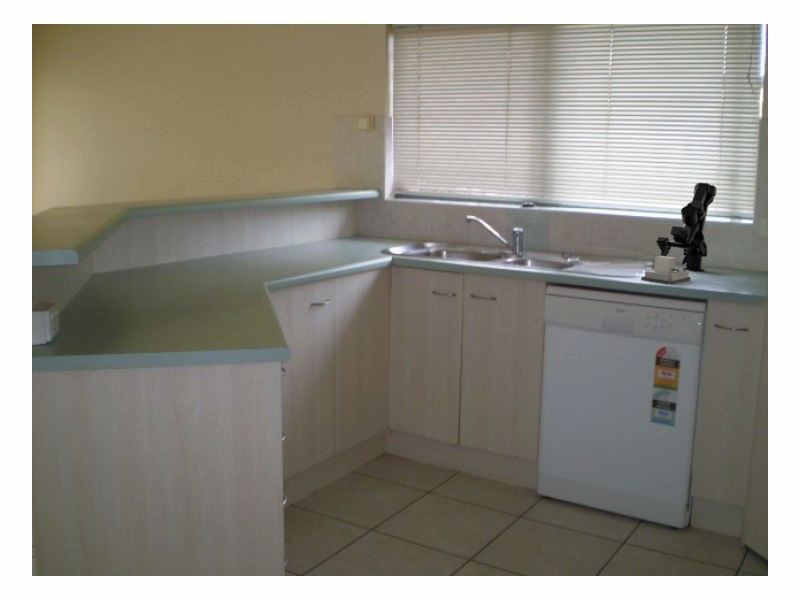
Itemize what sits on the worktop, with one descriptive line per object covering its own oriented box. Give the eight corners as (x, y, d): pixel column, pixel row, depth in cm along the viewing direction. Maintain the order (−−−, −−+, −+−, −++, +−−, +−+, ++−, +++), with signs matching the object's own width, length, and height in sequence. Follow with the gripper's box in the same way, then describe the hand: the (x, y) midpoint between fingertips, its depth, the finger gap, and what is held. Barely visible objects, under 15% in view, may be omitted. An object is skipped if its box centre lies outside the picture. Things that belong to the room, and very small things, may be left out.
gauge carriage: (660, 274, 351) (661, 255, 350) (681, 277, 345) (682, 258, 344) (653, 276, 348) (655, 257, 346) (674, 279, 342) (676, 259, 340)
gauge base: (660, 275, 358) (660, 265, 358) (690, 280, 350) (691, 269, 349) (641, 279, 348) (641, 269, 348) (671, 284, 339) (672, 273, 339)
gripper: (660, 216, 357) (644, 246, 352) (704, 221, 344) (688, 252, 339) (668, 234, 364) (652, 264, 359) (712, 239, 351) (696, 270, 346)
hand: (671, 262), depth 350 cm, fingers open, 9 cm apart
